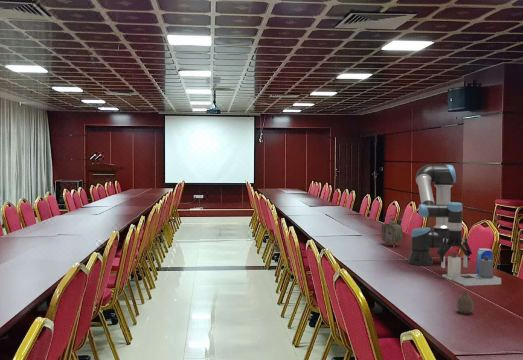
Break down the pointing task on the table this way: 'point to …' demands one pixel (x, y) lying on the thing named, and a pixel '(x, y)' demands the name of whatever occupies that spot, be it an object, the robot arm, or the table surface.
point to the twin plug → (485, 267)
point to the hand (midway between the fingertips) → (454, 267)
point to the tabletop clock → (391, 232)
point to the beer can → (481, 254)
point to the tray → (447, 276)
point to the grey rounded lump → (464, 303)
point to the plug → (454, 265)
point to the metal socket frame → (475, 280)
